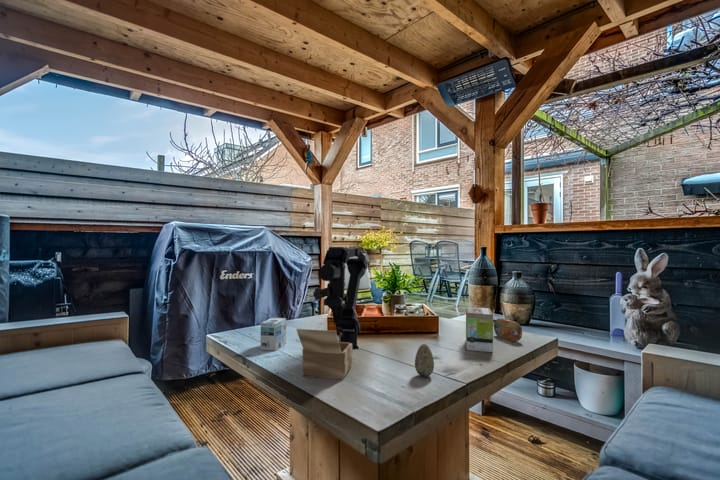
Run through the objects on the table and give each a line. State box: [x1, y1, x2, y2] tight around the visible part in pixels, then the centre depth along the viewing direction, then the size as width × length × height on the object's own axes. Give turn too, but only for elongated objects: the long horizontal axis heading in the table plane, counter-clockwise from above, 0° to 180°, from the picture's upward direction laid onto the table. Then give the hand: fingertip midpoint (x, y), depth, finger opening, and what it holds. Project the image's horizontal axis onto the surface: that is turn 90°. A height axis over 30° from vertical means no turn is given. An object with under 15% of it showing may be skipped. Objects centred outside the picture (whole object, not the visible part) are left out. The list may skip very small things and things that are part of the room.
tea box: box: [465, 306, 494, 353], centre depth 141 cm, size 15×10×15 cm, turn 164°
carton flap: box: [296, 328, 341, 354], centre depth 104 cm, size 10×12×1 cm
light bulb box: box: [260, 317, 287, 352], centre depth 141 cm, size 11×7×11 cm, turn 168°
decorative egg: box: [414, 343, 435, 378], centre depth 108 cm, size 6×6×10 cm
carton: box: [301, 342, 353, 380], centre depth 113 cm, size 12×14×8 cm
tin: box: [493, 318, 523, 343], centre depth 151 cm, size 15×3×8 cm, turn 17°
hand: (335, 323), depth 126 cm, fingers closed
